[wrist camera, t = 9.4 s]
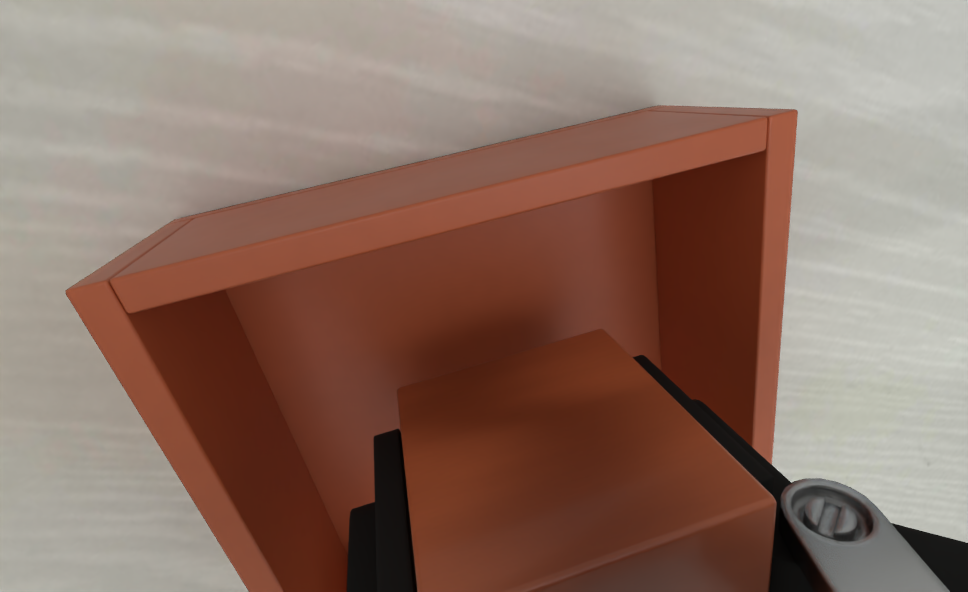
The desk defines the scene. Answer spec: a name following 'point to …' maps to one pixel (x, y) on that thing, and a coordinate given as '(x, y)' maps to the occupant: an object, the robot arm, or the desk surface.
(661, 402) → the terracotta block
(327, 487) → the terracotta bin
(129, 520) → the desk surface
